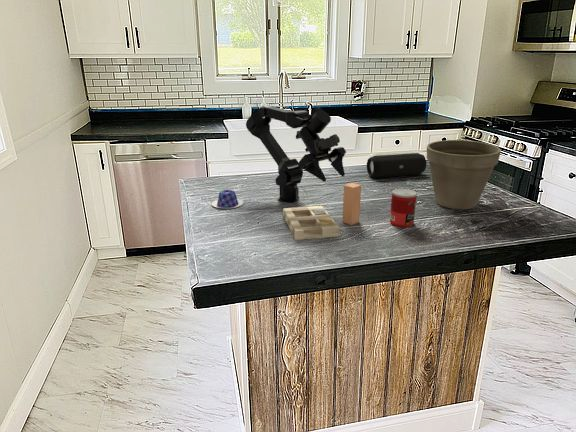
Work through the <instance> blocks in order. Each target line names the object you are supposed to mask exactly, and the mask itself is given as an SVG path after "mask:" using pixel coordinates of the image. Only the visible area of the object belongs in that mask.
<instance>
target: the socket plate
mask: <svg viewBox="0 0 576 432" xmlns="http://www.w3.org/2000/svg"><path fill="white" fill-rule="evenodd" d="M282 213H283V214H282V215H283V216H282V217H283V219H284V221H285V223H286V225H287V227H288V228H289V230H290V232H291V234H292V236H293V238H294V240H295V241H298V240H299V241H301V240H311V239H323V238H334V237H336V238H337V237H340V231H341V230H340V226H339V224H338V223H337V222H336V221H335V220H334V218H332V216H331V215H330V213H328V211H327V210H326V208H325V207H324V206H323V205H314V206H301V207H299V206H298V207H288V208H287V207H286V208H285V207H284V208H283V209H282Z"/></svg>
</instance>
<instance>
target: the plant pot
mask: <svg viewBox="0 0 576 432" xmlns="http://www.w3.org/2000/svg"><path fill="white" fill-rule="evenodd" d="M501 153H502V150H501V148H500V147H498V145H497V146H496V145H494V144H492V143H488V142H484V141H483V142H482V141H475V140H464V139H449V140H448V139H447V140H436V141H432V142H430V143H428V144H427V145H426V161H428V163H429V170H430V177H431V182H432V188H433V193H434V198H435V202H436V204H438V205H439V206H441V207H445V208H446V209H447V208H448V209H451V210H453V209H454V210H470V209H474V208H476V207H477V205H478V203H479V202H480V199H481V197H482V195H483V193H484V191H485V189H486V186H487V183H488V181H489V179H490V178H491V174H492V172H493V170H494V167H495V166H497V165H498V163H499V161H500V155H501Z"/></svg>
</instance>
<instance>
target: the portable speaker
mask: <svg viewBox="0 0 576 432" xmlns="http://www.w3.org/2000/svg"><path fill="white" fill-rule="evenodd" d="M426 169H427V157H426V156H425V155H424V154H423V153H419V152H410V153H394V154H393V153H392V154H376V155H373V156H371V157H369V158H368V159H367V162H366V170H367V171H366V172H367V174H368V176H370V177H372V178H376V179H377V178H378V179H379V178H390V177H392V178H393V177H405V176H406V177H407V176H417V175H420V174H422V173H424V172H425V171H426Z"/></svg>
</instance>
